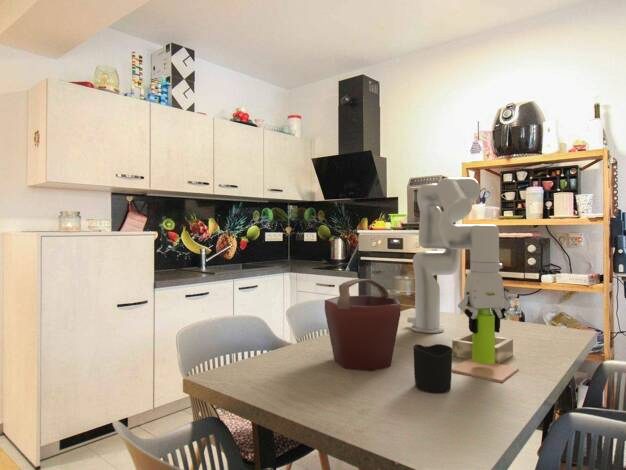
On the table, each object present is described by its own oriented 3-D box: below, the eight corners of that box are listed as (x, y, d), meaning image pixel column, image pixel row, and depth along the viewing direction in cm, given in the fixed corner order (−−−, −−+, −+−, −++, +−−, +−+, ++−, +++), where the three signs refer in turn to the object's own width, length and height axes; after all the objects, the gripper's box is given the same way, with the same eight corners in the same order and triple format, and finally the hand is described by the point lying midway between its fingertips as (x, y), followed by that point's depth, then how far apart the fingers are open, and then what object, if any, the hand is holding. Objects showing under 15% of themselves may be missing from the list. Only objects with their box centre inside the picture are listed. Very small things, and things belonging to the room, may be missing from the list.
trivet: (450, 371, 121) (450, 369, 121) (469, 360, 131) (469, 358, 131) (502, 382, 112) (502, 380, 112) (518, 369, 122) (518, 367, 122)
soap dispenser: (482, 365, 117) (482, 292, 117) (468, 358, 124) (468, 289, 124) (501, 364, 119) (501, 292, 119) (486, 357, 126) (486, 288, 125)
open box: (452, 356, 136) (452, 340, 136) (469, 347, 147) (469, 332, 146) (498, 364, 127) (498, 347, 127) (512, 354, 137) (512, 339, 137)
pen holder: (423, 378, 115) (423, 341, 115) (458, 386, 109) (458, 347, 109) (406, 388, 108) (406, 348, 108) (443, 397, 102) (443, 355, 102)
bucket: (352, 379, 114) (352, 285, 114) (307, 359, 132) (307, 278, 132) (417, 364, 128) (417, 280, 127) (368, 348, 146) (368, 274, 146)
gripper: (504, 266, 126) (504, 328, 126) (449, 267, 124) (449, 330, 124) (520, 268, 119) (520, 333, 119) (462, 269, 116) (462, 336, 117)
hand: (484, 331), depth 121 cm, fingers closed on soap dispenser, 5 cm apart
